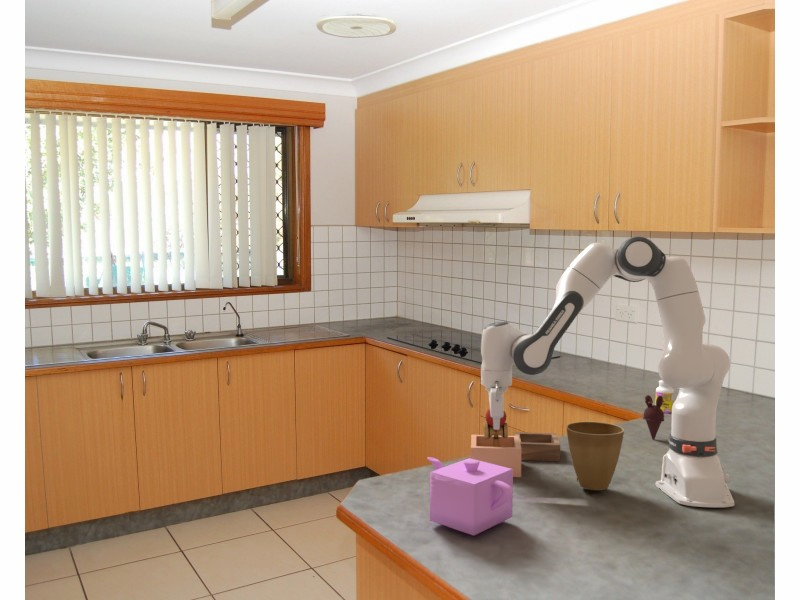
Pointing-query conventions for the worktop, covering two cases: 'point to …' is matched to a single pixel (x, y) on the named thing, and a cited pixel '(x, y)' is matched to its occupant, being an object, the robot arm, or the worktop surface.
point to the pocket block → (539, 446)
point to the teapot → (470, 495)
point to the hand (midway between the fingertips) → (496, 425)
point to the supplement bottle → (665, 396)
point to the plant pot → (594, 452)
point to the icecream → (653, 414)
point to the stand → (498, 452)
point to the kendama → (490, 431)
